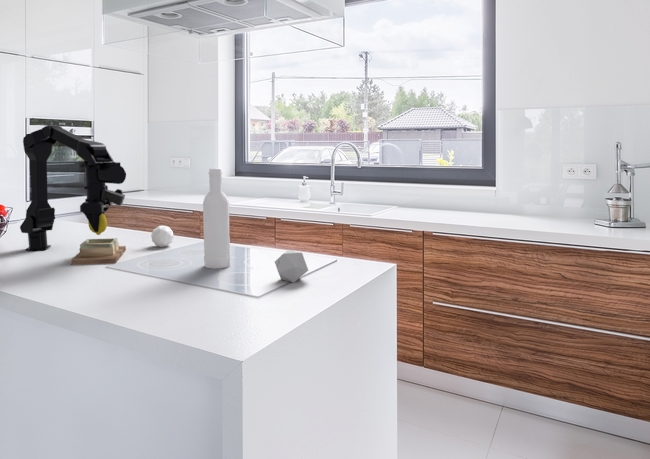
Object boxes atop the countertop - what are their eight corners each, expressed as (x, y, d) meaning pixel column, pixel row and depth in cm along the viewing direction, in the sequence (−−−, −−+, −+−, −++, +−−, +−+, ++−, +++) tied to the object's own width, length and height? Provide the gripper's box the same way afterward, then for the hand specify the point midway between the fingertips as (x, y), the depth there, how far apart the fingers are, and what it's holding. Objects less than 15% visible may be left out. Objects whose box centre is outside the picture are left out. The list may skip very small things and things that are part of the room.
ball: (164, 254, 188) (160, 240, 182) (149, 244, 191) (144, 230, 185) (179, 242, 192) (176, 227, 187) (164, 232, 195) (160, 217, 190)
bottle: (230, 268, 157) (228, 169, 152) (203, 269, 156) (200, 168, 151) (230, 262, 165) (228, 167, 160) (205, 263, 164) (202, 167, 159)
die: (282, 276, 151) (266, 253, 146) (309, 261, 151) (294, 237, 146) (288, 294, 144) (271, 270, 139) (316, 278, 144) (301, 254, 139)
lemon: (100, 237, 167) (99, 212, 165) (85, 236, 168) (84, 211, 166) (111, 234, 172) (109, 210, 171) (96, 233, 173) (94, 209, 172)
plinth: (86, 251, 179) (85, 236, 178) (125, 250, 182) (125, 235, 181) (71, 264, 160) (69, 248, 159) (115, 263, 163) (115, 246, 162)
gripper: (117, 184, 160) (119, 235, 162) (126, 180, 178) (128, 225, 180) (78, 185, 157) (81, 235, 160) (91, 180, 175) (94, 225, 178)
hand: (98, 230), depth 170 cm, fingers closed on lemon, 5 cm apart
